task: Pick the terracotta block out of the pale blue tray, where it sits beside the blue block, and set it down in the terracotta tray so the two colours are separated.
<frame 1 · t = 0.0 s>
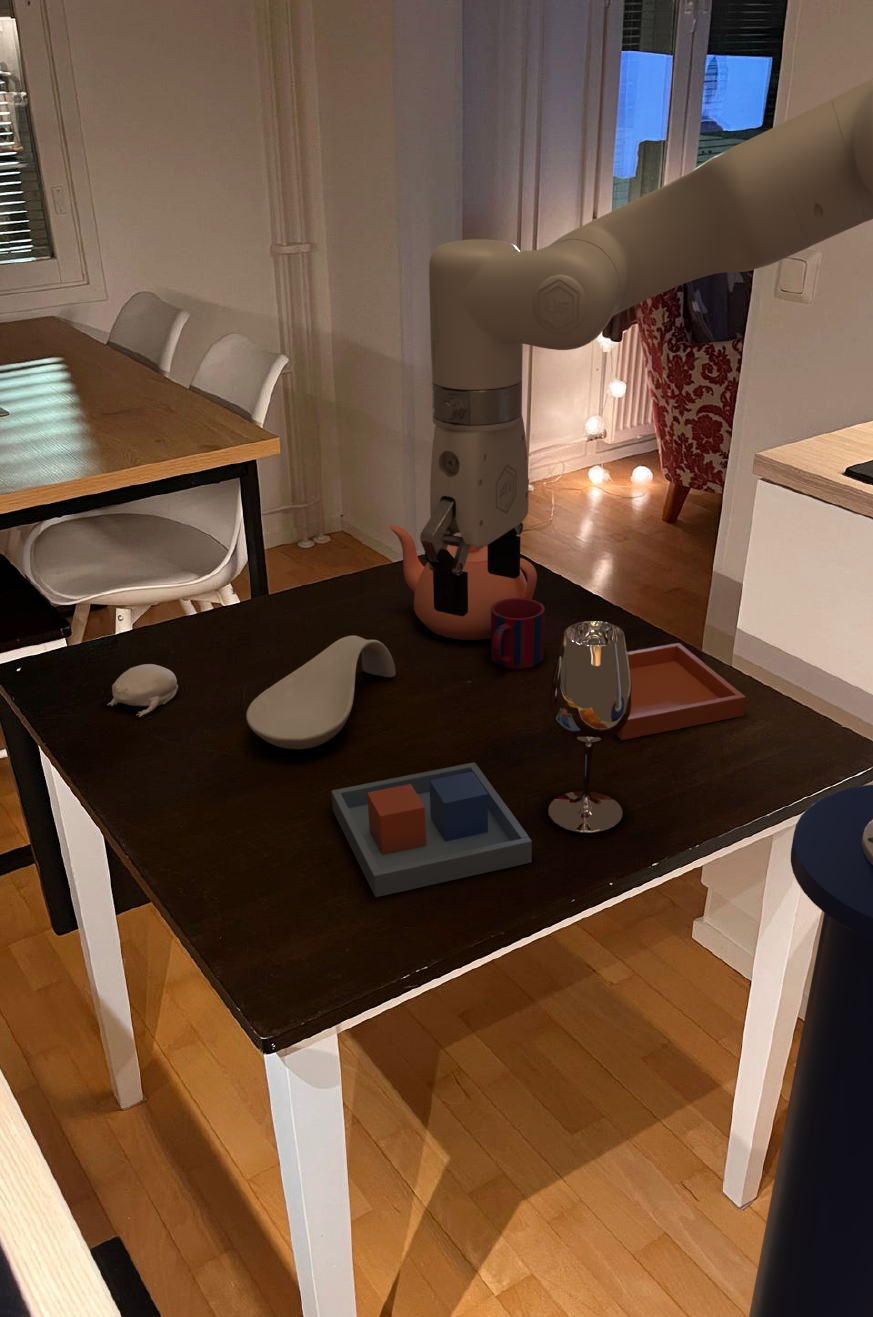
hand: (478, 593, 108), 24 cm above the table, tool pointing down, fingers open, 9 cm apart
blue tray: (428, 835, 117), on the table
terracotta block: (397, 838, 116), resting on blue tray
terracotta tray: (651, 698, 141), on the table
spoon rest: (329, 716, 139), on the table
mug: (510, 664, 150), on the table
blue block: (458, 825, 118), resting on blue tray
wineglass: (585, 815, 120), on the table
frog figurine: (145, 700, 144), on the table
teapot: (465, 622, 161), on the table
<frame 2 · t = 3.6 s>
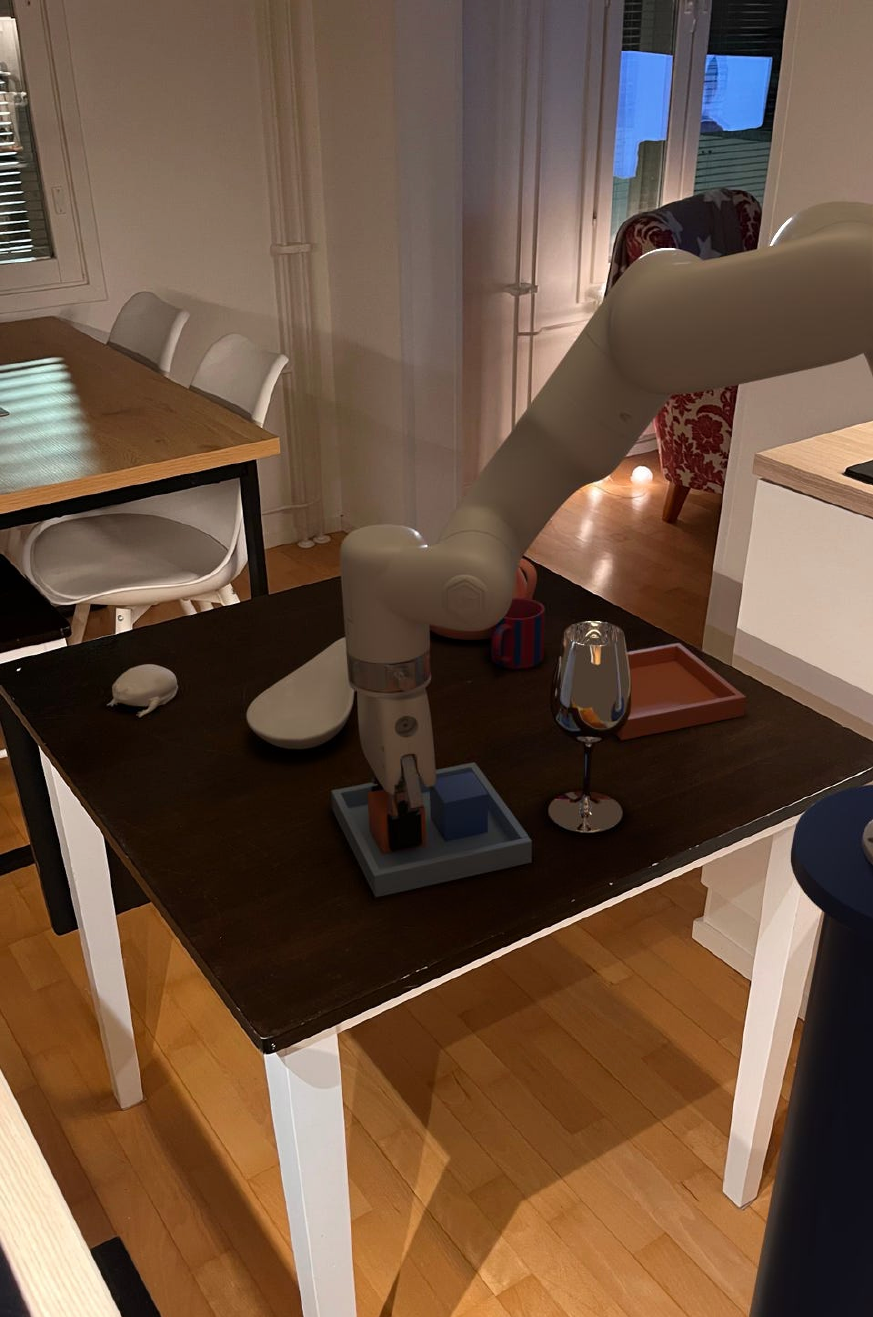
hand: (397, 830, 116), 1 cm above the table, tool pointing down, fingers closed on terracotta block, 4 cm apart
terracotta block: (397, 838, 116), resting on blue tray, touching gripper
everything else where it was.
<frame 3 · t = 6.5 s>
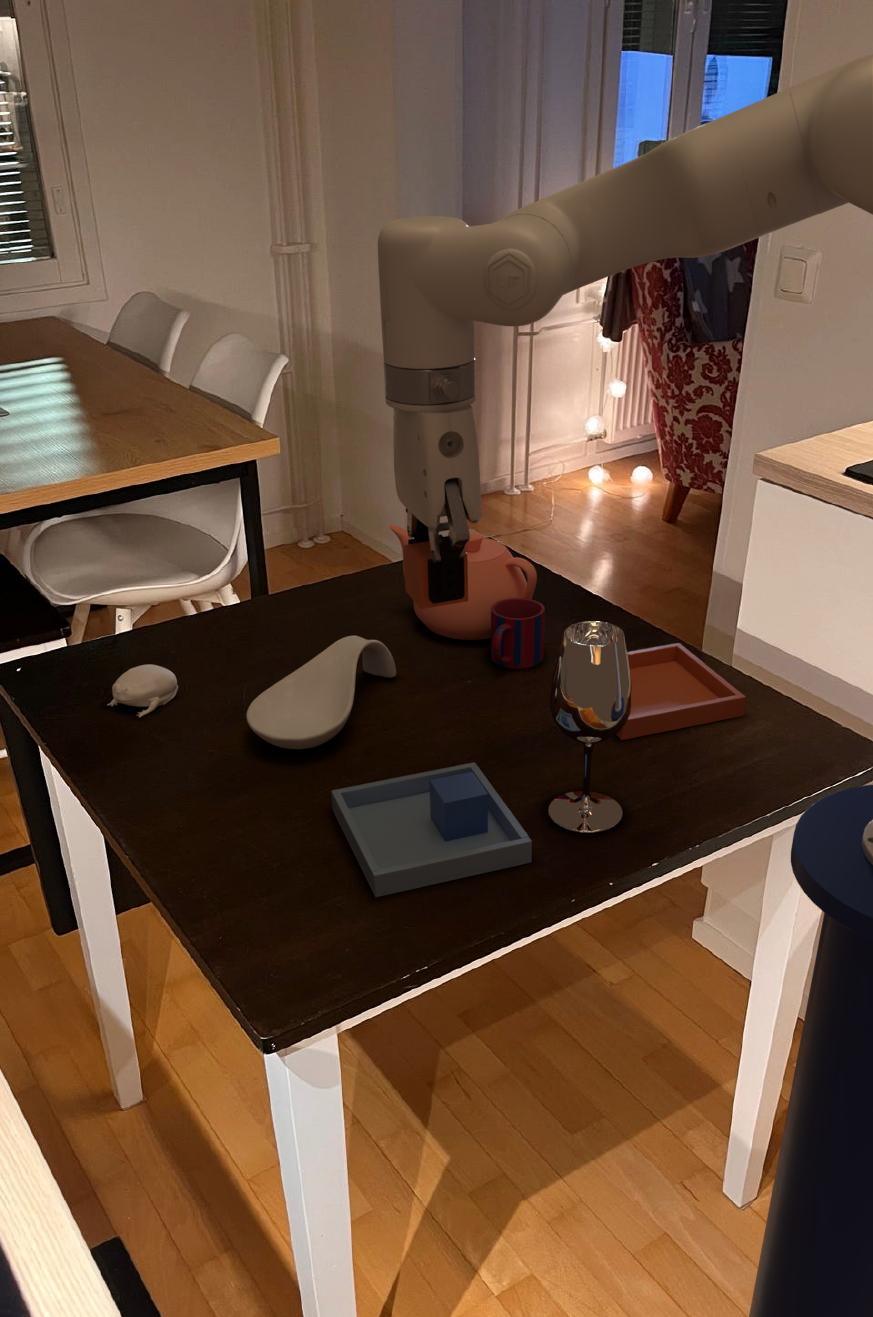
hand: (436, 587, 107), 25 cm above the table, tool pointing down, fingers closed on terracotta block, 4 cm apart
terracotta block: (436, 596, 108), point 24 cm above the table, touching gripper
everything else where it was.
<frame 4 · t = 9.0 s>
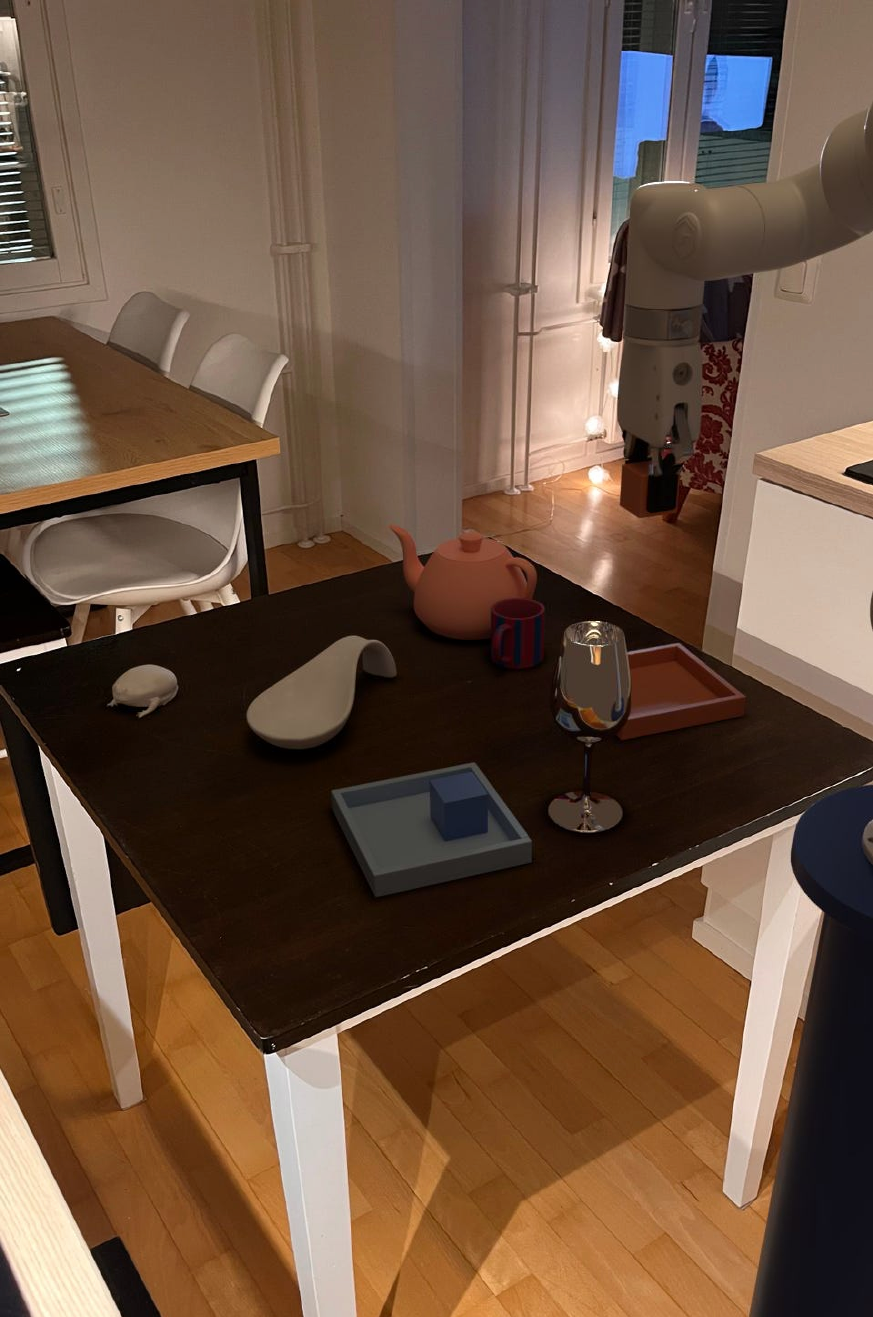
hand: (648, 501, 126), 25 cm above the table, tool pointing down, fingers closed on terracotta block, 4 cm apart
terracotta block: (648, 509, 126), point 24 cm above the table, touching gripper
everything else where it was.
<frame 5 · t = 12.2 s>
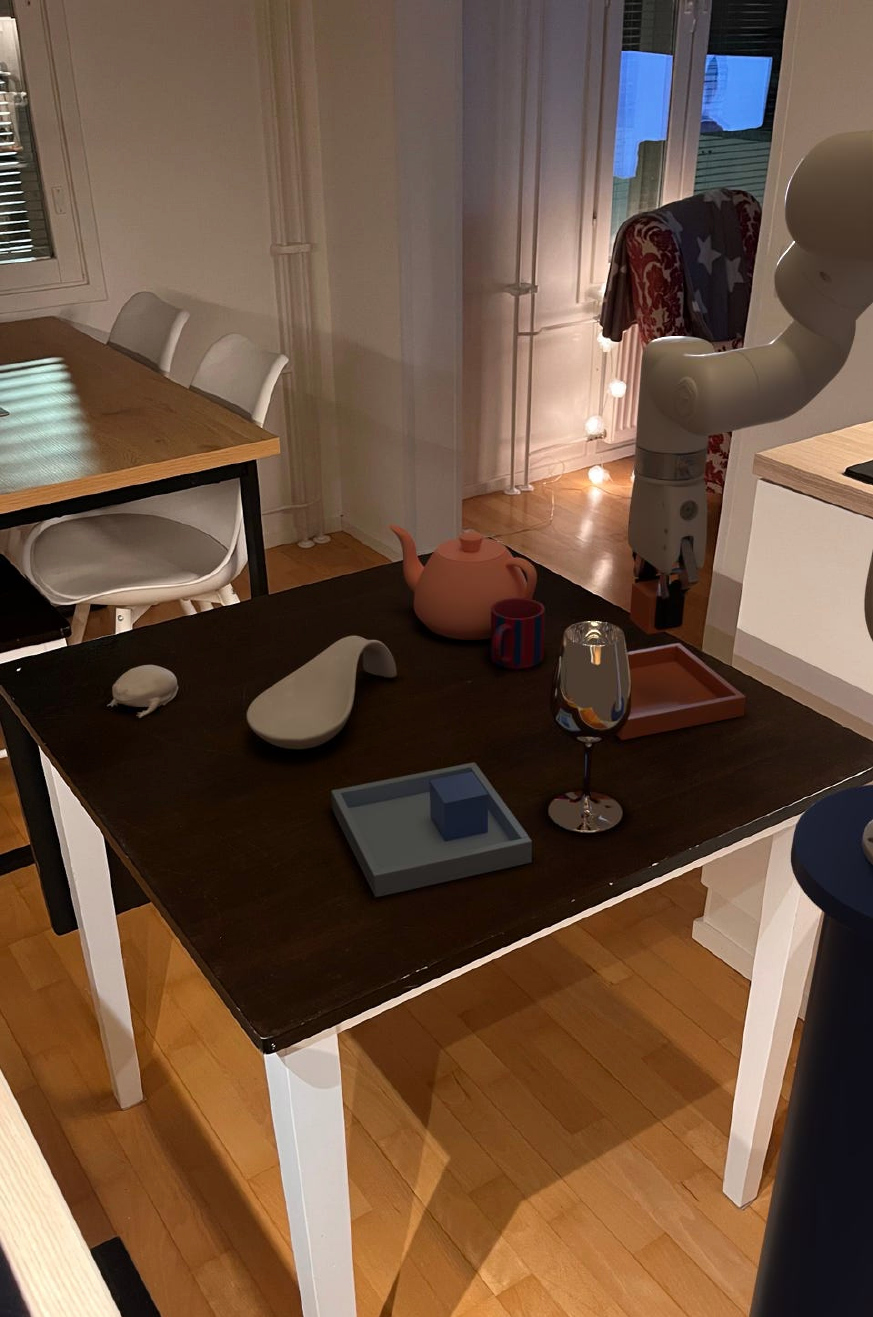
hand: (656, 616, 136), 10 cm above the table, tool pointing down, fingers closed on terracotta block, 4 cm apart
terracotta block: (656, 623, 136), point 10 cm above the table, touching gripper
everything else where it was.
when the fingers open (1 cm above the table, at t = 14.7 s): terracotta block stays where it is, resting on terracotta tray.
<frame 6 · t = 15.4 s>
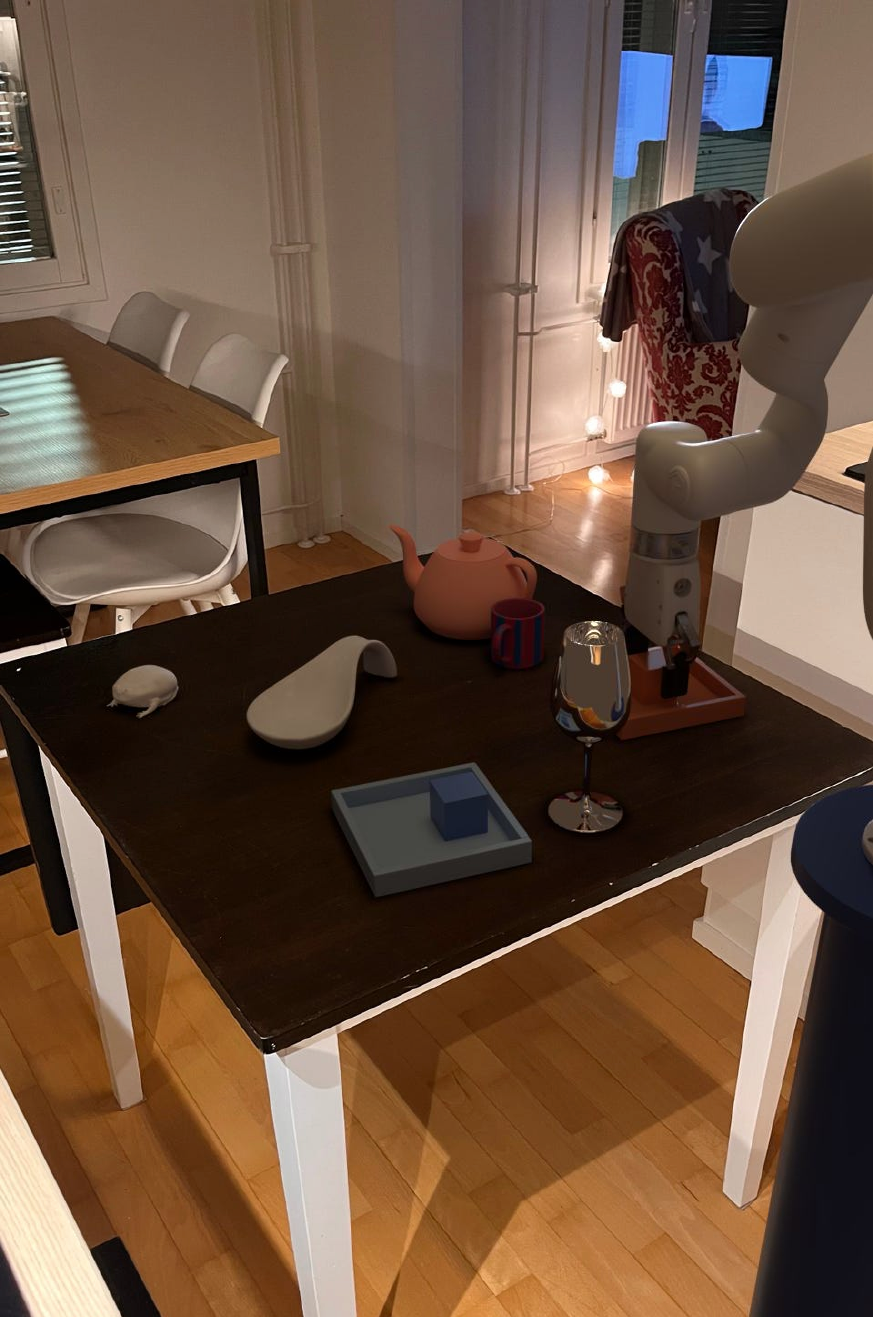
hand: (653, 678, 140), 3 cm above the table, tool pointing down, fingers open, 9 cm apart
terracotta block: (650, 694, 141), resting on terracotta tray
everything else where it was.
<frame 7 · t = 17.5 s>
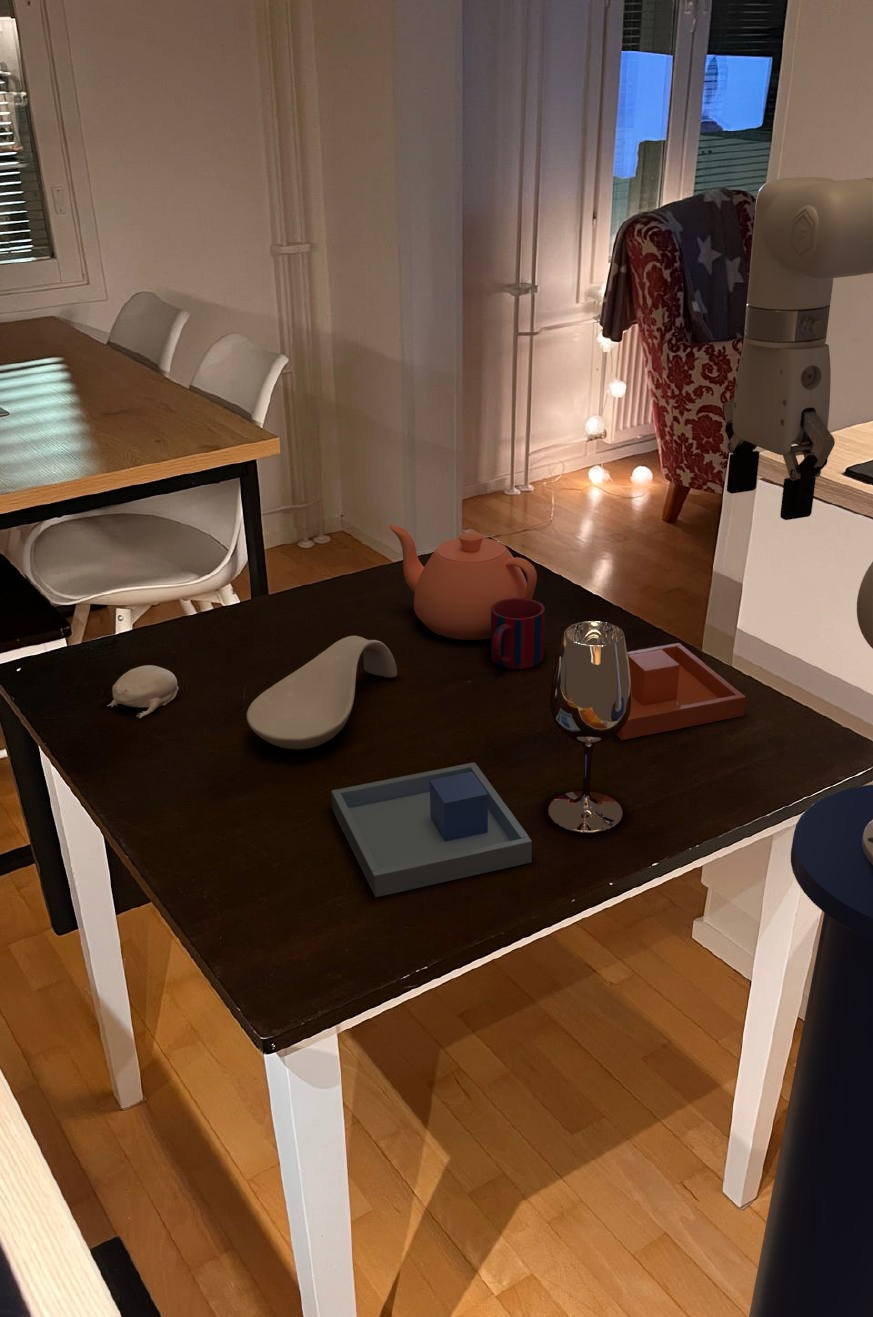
hand: (767, 503, 120), 27 cm above the table, tool pointing down, fingers open, 9 cm apart
nothing on the table moved.
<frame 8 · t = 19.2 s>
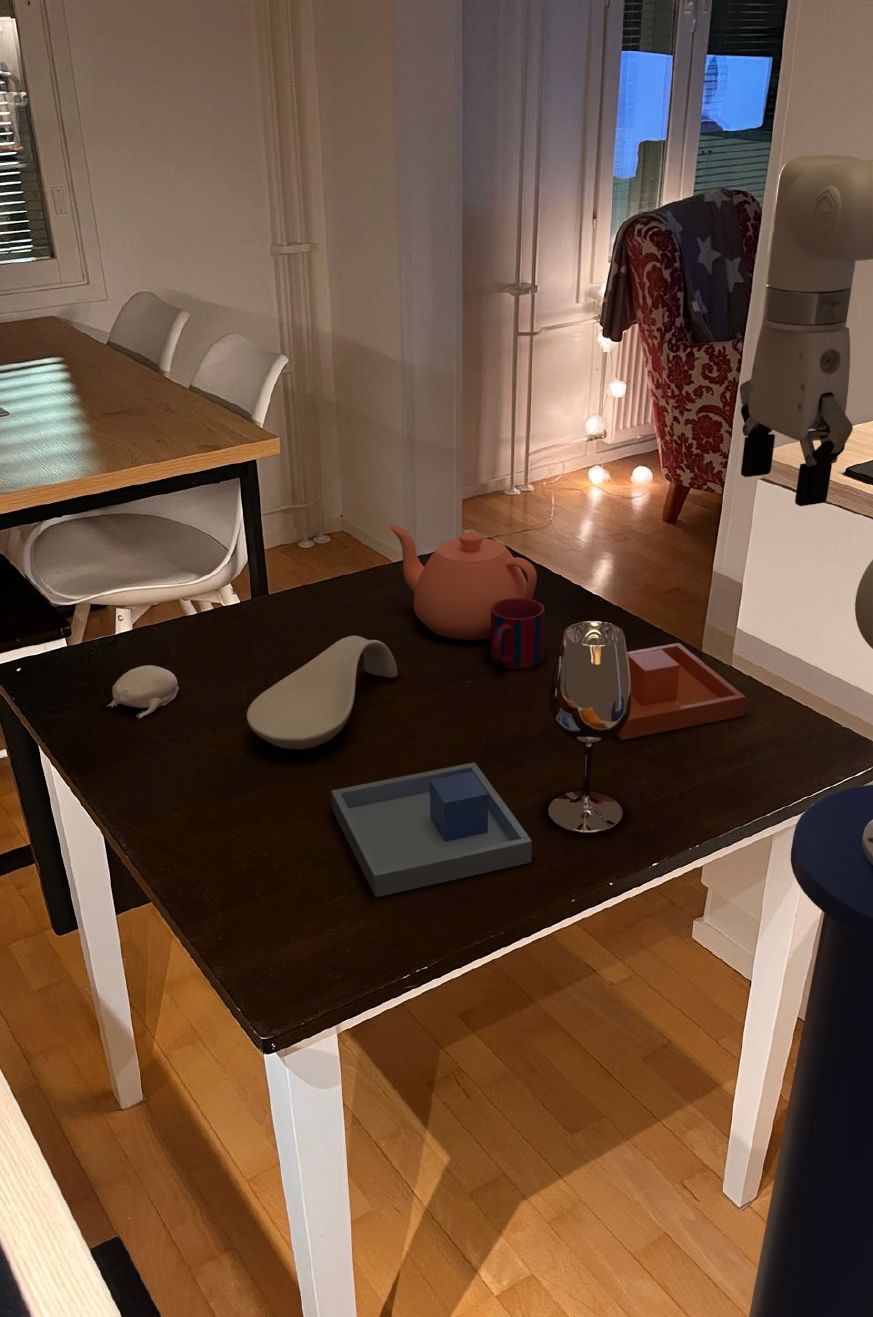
hand: (782, 488, 118), 28 cm above the table, tool pointing down, fingers open, 9 cm apart
nothing on the table moved.
at the end: terracotta block inside the target area in the terracotta tray (0.1 cm from its centre), point 0.5 cm above the terracotta tray's base; blue block inside the target area in the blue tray (3.2 cm from its centre), point 0.5 cm above the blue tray's base; terracotta block tilted 0° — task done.
